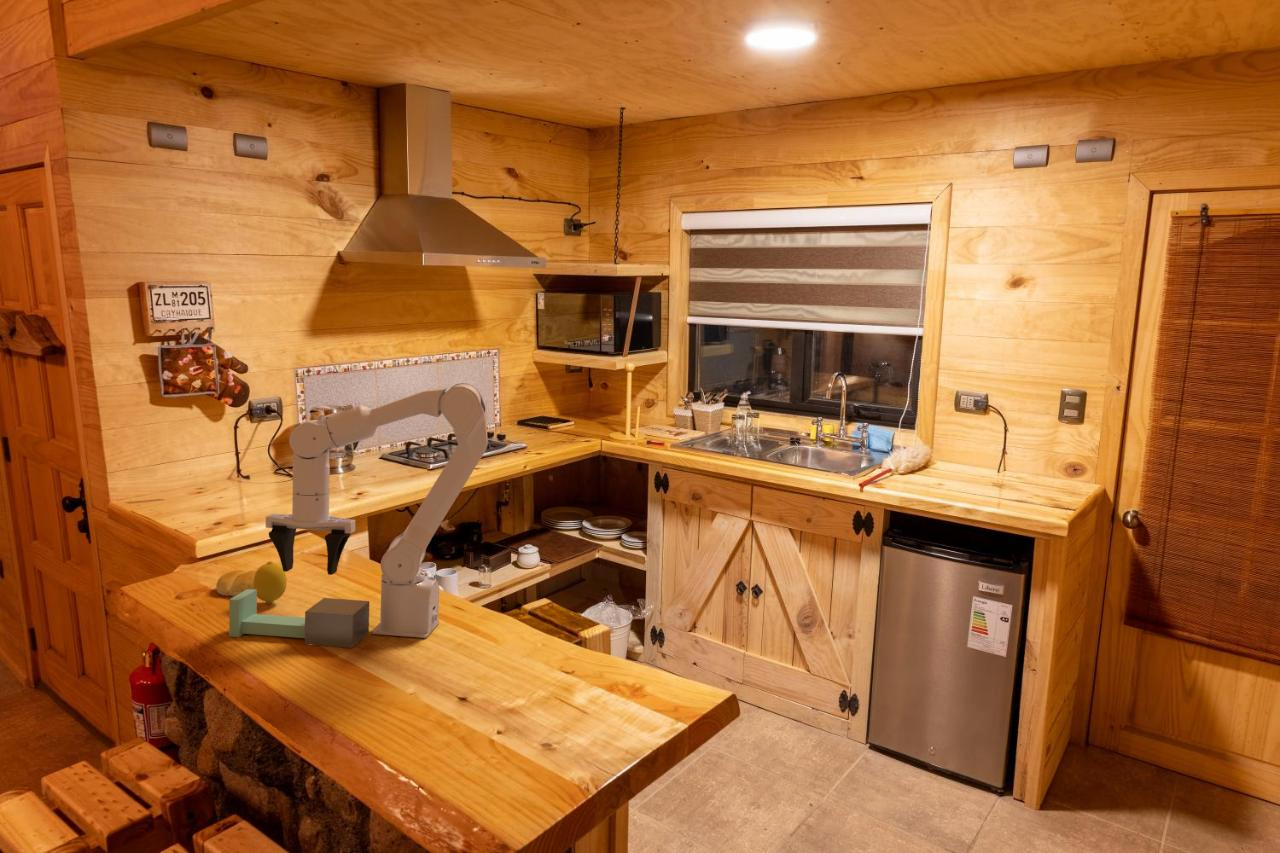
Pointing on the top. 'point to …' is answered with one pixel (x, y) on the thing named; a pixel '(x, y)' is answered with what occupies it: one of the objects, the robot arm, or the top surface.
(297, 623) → the handle
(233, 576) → the bread roll
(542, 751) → the top surface
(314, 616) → the block
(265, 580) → the lemon
